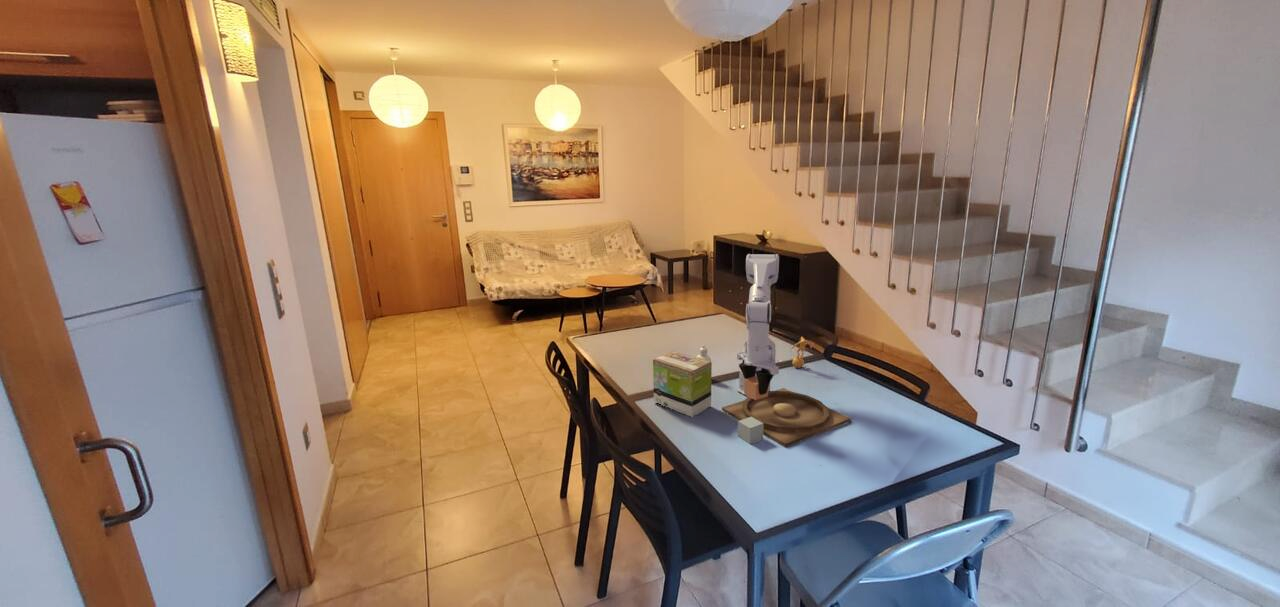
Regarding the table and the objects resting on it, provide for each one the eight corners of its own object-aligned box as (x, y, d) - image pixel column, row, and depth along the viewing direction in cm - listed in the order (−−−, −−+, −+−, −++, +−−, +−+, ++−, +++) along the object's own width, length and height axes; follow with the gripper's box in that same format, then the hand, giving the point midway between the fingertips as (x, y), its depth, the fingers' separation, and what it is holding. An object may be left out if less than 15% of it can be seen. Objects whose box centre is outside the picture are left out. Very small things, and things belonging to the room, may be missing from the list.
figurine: (805, 364, 184) (807, 332, 181) (814, 370, 179) (816, 337, 176) (784, 366, 182) (785, 334, 179) (793, 373, 177) (794, 339, 174)
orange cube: (744, 394, 145) (744, 379, 144) (756, 390, 147) (757, 375, 146) (755, 400, 141) (755, 384, 140) (767, 396, 143) (768, 380, 142)
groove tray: (721, 410, 151) (721, 402, 150) (783, 390, 163) (783, 383, 162) (785, 447, 130) (785, 438, 129) (850, 421, 142) (851, 413, 141)
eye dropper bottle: (708, 374, 177) (708, 341, 174) (711, 381, 172) (711, 347, 169) (695, 375, 177) (695, 342, 174) (698, 382, 172) (698, 348, 169)
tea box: (652, 404, 156) (651, 358, 153) (673, 393, 163) (672, 349, 160) (692, 418, 146) (691, 370, 143) (712, 406, 153) (712, 360, 150)
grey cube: (737, 436, 136) (738, 421, 134) (750, 432, 138) (751, 416, 137) (749, 444, 132) (749, 428, 131) (762, 439, 134) (763, 423, 133)
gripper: (729, 340, 144) (728, 384, 148) (765, 354, 132) (763, 403, 136) (748, 335, 148) (747, 379, 151) (785, 349, 136) (783, 397, 139)
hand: (756, 390), depth 144 cm, fingers closed on orange cube, 5 cm apart
